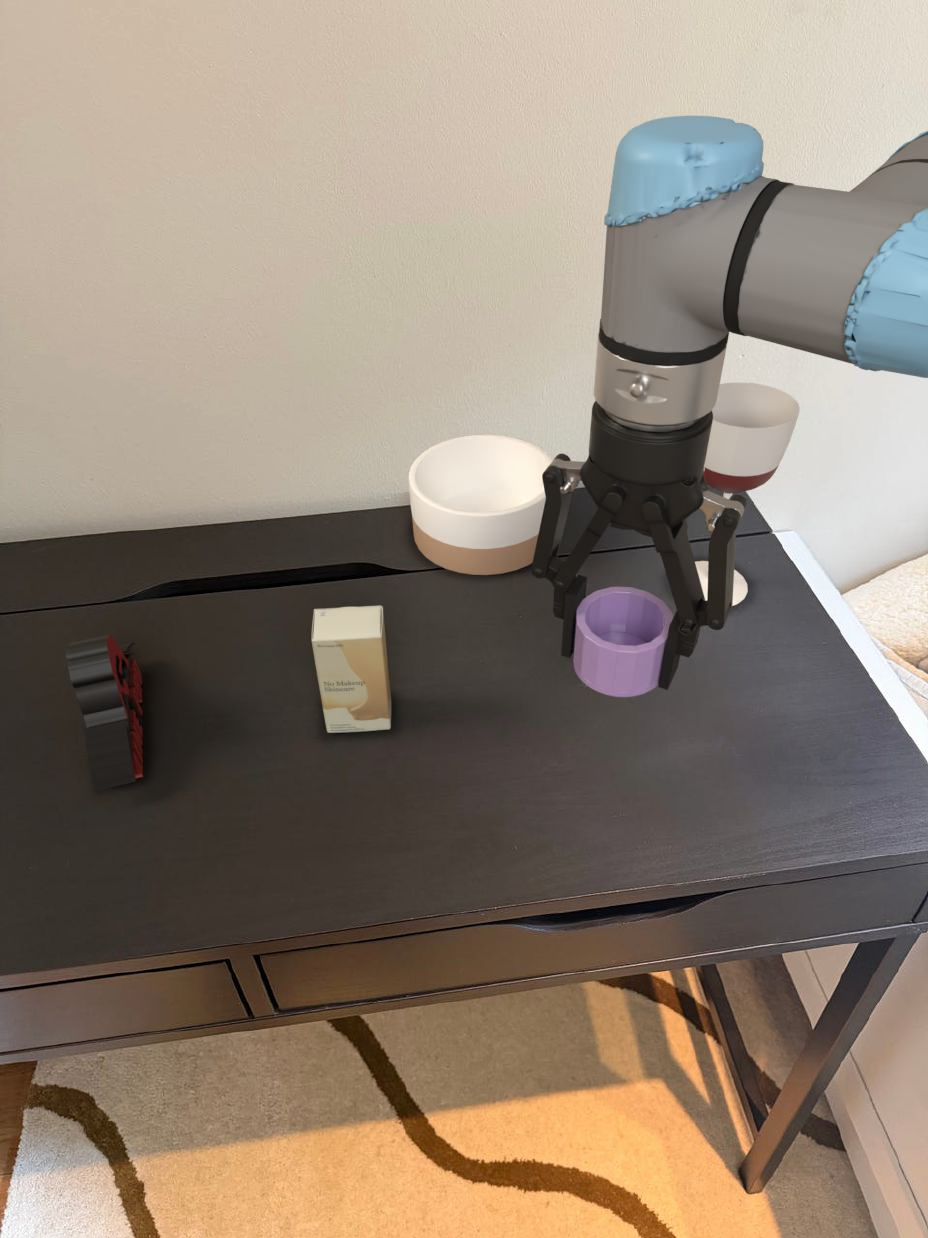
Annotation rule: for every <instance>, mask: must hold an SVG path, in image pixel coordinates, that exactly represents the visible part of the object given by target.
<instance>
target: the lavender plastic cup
mask: <svg viewBox="0 0 928 1238" xmlns="http://www.w3.org/2000/svg"><path fill="white" fill-rule="evenodd" d="M673 617H674V614H673V611H672V610H671V609H670V608H669V606H668V605H667V604H666V602H664V600H662V599H660V598H659V597H657V596H655V595H654V594H653V593H651V592H649V591H646V590H643V589H640V588H637V587H632V586H610V587H606V588H602V589H598V590H595V591H594V592H592V593H590V594H589V595H586V597H585V598H584V599H583V600H582V602H581V603H580V605H579V607H578V608H577V610H576V619H575V631H574V643H573V654H572V666H573V669H574V672H575V674H576V676H577V677H578V679H579V680H580V681H581V682H582V683H583V684H584V685H585V686H587V687H588V688H590V689H591V690H593V691H595V692H597V693H599V694H603V695H605V696H608V697H615V698H632V697H633V698H634V697H638V696H642V695H644V694H647V693H648V692H651V691H652V690H654V689H656V687H658V686H659V680H660V675H661V669H662V664H663V658H664V653H665V647H666V642H667V636H668V631H669V626H670V624H671V622H672V619H673Z"/></svg>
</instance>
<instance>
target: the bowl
mask: <svg viewBox="0 0 928 1238" xmlns="http://www.w3.org/2000/svg"><path fill="white" fill-rule="evenodd" d="M553 460H554V458H553V457H551V455H550V454H549V453H547V452H546V451H545V450H544V449H542V447H539V446H538V445H536V444H534V443H532V442H529V441H526V440H523V439H521V438H518V437H513V436H509V435H502V434H501V435H500V434H473V435H464V436H463V435H462V436H459V437H453V438H450V439H447V440H444V441H440V442H439V443H437V444H434V445H432V446H431V447H429V448H427V449H426V450H424V451H423V452H422V453H420V455H418V457H416V459H415V460H414V461H413V462H412V464H411V466H410V468H409V471H408V472H409V473H408V489H409V500H410V501H409V502H410V510H411V511H410V512H411V521H412V532H413V538H414V543H415V544H416V546H417V549H418V550H419V551H420V553H421V554H422V555H423V556H424V557H425V558H426V559H428V560H429V561H430V562H432V563H433V564H434V565H437V566H439V567H441V568H444V569H445V570H448V571H452V572H455V573H459V574H465V575H473V576H490V575H492V576H493V575H502V574H506V573H510V572H514V571H518V570H520V569H522V568H525V567H528V566H529V565H532V562H533V557H534V553H535V548H536V543H537V538H538V534H539V529H540V524H541V519H542V515H543V510H544V505H545V500H546V496H545V491H544V485H543V479H542V474H543V472H544V471H545V470H546V469H547V467H548V466H549V465H550V464H551V462H552V461H553Z"/></svg>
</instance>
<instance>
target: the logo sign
mask: <svg viewBox="0 0 928 1238" xmlns="http://www.w3.org/2000/svg"><path fill="white" fill-rule="evenodd" d="M134 645H136V643H135V642H129V643H125V644H120V645H119V644H117V642H116V640H115V637H114V636H113V635H111V634H105V635H101V636H95V637H92V638H91V637H90V638H86V639H82V640H77V641H71V642H69V643H68V644H67V645H65V648H64V653H65V659H66V662H67V669H68V673H69V678H70V683H71V685H72V687H73V688H74V692H75V696H76V699H77V703H78V706H79V709H80V710H81V714H82V715H83V721H84V723H85V726H86V728H84V737H85V738H84V739H85V745H86V753H87V760H88V766H89V772H90V776H91V780H92V786H93V790H94V792H97V791H101V790H105V789H109V788H110V789H111V788H114V787H118V786H122V785H123V786H124V785H127V784H130V783H135V782H137V779H138V778H143V777H144V760H143V759H144V757H143V755H144V754H143V752H144V751H143V748H142V747H143V727H142V726H143V725H144V724H143V723H144V722H143V719H142V717H143V709H142V707H141V704H142V703H143V689H142V685H143V676H142V673H141V670H140V668H139V665H138V662H137V660H136V658H133V656H134V655H135V654H136V652H131V649H132V648H133V646H134ZM140 703H141V704H140Z"/></svg>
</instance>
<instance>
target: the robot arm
mask: <svg viewBox="0 0 928 1238" xmlns="http://www.w3.org/2000/svg"><path fill="white" fill-rule="evenodd" d="M763 153H764V140H763V138H762V134H761V133H760V132H759V131H758V130H757V128H755V127H754V126H753V125H750V124H748V123H744V122H735V121H734V119H731V118H726V117H719V116H711V115H677V116H676V115H675V116H668V117H660V118H655V119H651V120H648V121H647V120H646V121H644V122H643V123H640V124H639V125H637V126H634V127H633V128H631V129H630V130H628V131H627V132H626V133H625V135H624V136H623V137H622V138H621V139H620V141H619V142H618V144H617V148H616V151H615V156H614V163H613V170H612V178H611V185H610V192H609V198H608V206H607V213H606V214H605V215H604V218H603V219H604V220H603V222H604V223H603V224H604V226H606V234H605V248H604V249H605V250H604V264H603V280H602V296H601V312H600V319H599V326H598V327H599V329H598V333H597V343H596V356H595V369H594V370H595V372H594V385H593V397H594V399H595V400H594V402H593V404H592V407H591V416H590V428H589V429H590V431H589V439H588V441H589V442H588V455H587V458H586V460H585V461H580V460H579V461H578V460H577V461H576V460H572V459H571V458H570V457H569V455H568V454H565V453H558V454H557V455H556V456H555V457H554V458H553V461H552V462H551V464H550V465H549V466H548V467H547V469H546V470H545V471H544V472H543V474H542V479H543V485H544V491H545V496H546V500H545V505H544V510H543V515H542V519H541V524H540V529H539V534H538V538H537V543H536V548H535V553H534V557H533V562H532V563H531V568H530V572H531V575H532V576H533V577H534V578H536V579H541V580H542V579H547V580H548V581H549V582H550V583H551V584H552V587H553V602H552V603H553V606H552V612H553V615H554V617H555V618H557V619H561V620H563V623H562V637H561V638H562V639H561V650H560V651H561V653H560V656H562V657H565V658H568V659H571V657H572V656H573V643H574V631H575V619H576V610H577V608H578V607H579V605H580V603H581V602H582V600H583V599H584V598H586V597H587V585H588V576H585V575H581V574H578V572H579V571H580V570H581V567H582V566H583V565H584V563H585V562H586V560H587V559H588V557H589V556H590V554H591V553H592V551H593V550H594V548H595V547H596V545H597V544H598V542H599V540H600V539H601V538H602V536H603V534H604V533H605V531H606V530H607V528H608V527H609V525H610V527H612V528H615V529H620V530H629V531H631V530H632V531H634V532H636V533H637V534H640V535H642V536H646V537H649V538H651V539H652V542H653V545H654V549H655V552H656V553H658V554H660V557H661V560H662V564H663V568H664V570H665V574H666V577H667V581H668V584H669V588H670V591H671V594H672V598H673V601H674V604H675V608H676V611H675V613H674V614H673V619H672V622H671V624H670V626H669V631H668V636H667V642H666V647H665V653H664V658H663V664H662V669H661V675H660V680H659V684H658V685H657V687H658V688H660V689H663V690H666V691H668V690H669V688H670V686H671V684H672V682H673V679H674V678H675V675H676V673H677V670H678V668H679V663H680V658H681V657H685V658H688V659H689V658H690V657H691V656H692V655H693V653H694V651H695V648H696V646H697V644H698V641H699V638H700V637H699V636H700V632H701V628H702V627H703V626H704V627H705V626H707V627H708V628H710V629H711V630H714V631H720V630H722V629H723V628H724V626H725V624H726V621H727V619H728V617H729V614H730V612H731V610H732V607H733V606H732V603H733V583H734V570H735V561H736V542H737V541H736V539H737V527H738V526H739V523H740V521H741V518H742V517H743V515H744V512H745V510H746V508H747V505H748V501H747V499H746V498H745V496H743V495H742V494H732V496H731V497H730V498H729V499H727V498H724V497H723V495H719V494H717V493H715V492H712V491H710V490H709V489H708V485H707V483H706V481H705V478H704V464H705V459H706V454H707V448H708V443H709V438H710V432H711V427H712V421H713V413H712V409H713V408H714V407H715V404H716V401H717V396H718V391H719V385H720V384H721V380H722V374H723V368H724V363H725V357H726V353H727V347H728V342H729V336H730V333H731V334H735V335H739V336H743V337H750V338H755V339H757V340H762V341H765V342H769V343H773V344H775V345H780V346H783V347H788V348H791V349H796V350H799V351H803V352H806V353H810V354H814V355H818V356H821V357H824V358H829V359H833V360H836V361H839V362H844V363H848V364H851V365H853V366H854V367H857V368H859V369H861V370H864V371H872V372H880V371H884V372H889V373H895V374H900V375H907V376H911V377H916V378H917V377H918V378H923V379H928V130H926V131H924V132H920V133H919V134H918V135H917V136H915V137H914V138H913V139H911V140H910V141H907V142H904V143H903V144H902V145H900V146H899V147H898V148H897V150H895V151H894V152H893V153H892V154H891V155H890V156H889V157H888V158H887V160H885V162H884V163H883V164H881V165H880V166H879V167H877V168H876V170H874V171H873V172H872V173H871V174H870V175H868V176H867V177H866V178H865V179H864V180H862V181H861V182H859V184H857V185H856V186H855V187H853V188H852V189H851V190H849V191H847V190H837V189H830V188H824V187H823V188H822V187H815V186H808V185H807V186H806V185H799V184H795V183H792V182H787V181H781V180H779V179H777V178H772V177H771V178H770V177H765V176H763V173H764V168H765V163H764V162H763V155H764V154H763ZM580 482H581V483H582V484H583V486H584V487H585V489H586V491H587V492H588V494H589V496H590V497H591V499H592V501H593V502H594V504H595V506H596V508H597V509H596V512H595V513H594V514H593V516H592V518H591V519H590V521H589V523H588V524H587V526H586V527H585V529H584V531H583V532H582V533H581V535H580V537H579V539H578V540H577V542H576V543H575V545H574V546H573V548H572V550H571V551H570V553H569V554H568V556H567V558H566V560H565V561H564V560H563V559H561V558H559V557H558V556H559V554H560V553H559V552H560V548H561V545H562V544H561V543H562V540H563V536H564V531H565V527H566V524H567V523H566V522H567V519H568V514H569V510H570V506H571V502H572V499H573V498H572V497H573V493H574V491H575V490H576V488H577V487H579V484H580ZM698 510H700V511H701V512H702V513H703V514H704V518H705V519H704V524H705V526H706V529H707V531H708V532H711V534H710V538H709V541H708V558H707V561H708V594H707V601H705V597H704V594H703V590H702V586H701V583H700V579H699V575H698V572H697V568H696V564H695V562H696V561H695V558H694V553H693V550H692V547H691V546H692V545H691V543H690V539H689V535H688V521H687V519H688V518H689V517H690V516H692V515H693V514H694V513H696V512H697V511H698Z"/></svg>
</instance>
